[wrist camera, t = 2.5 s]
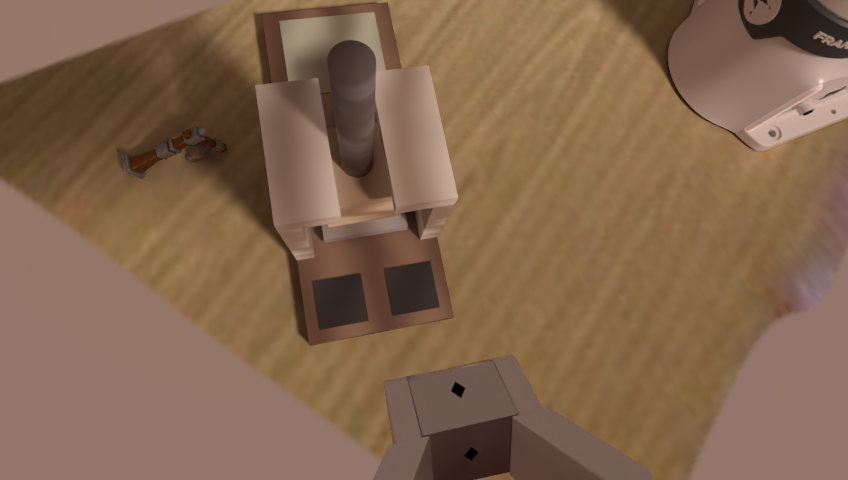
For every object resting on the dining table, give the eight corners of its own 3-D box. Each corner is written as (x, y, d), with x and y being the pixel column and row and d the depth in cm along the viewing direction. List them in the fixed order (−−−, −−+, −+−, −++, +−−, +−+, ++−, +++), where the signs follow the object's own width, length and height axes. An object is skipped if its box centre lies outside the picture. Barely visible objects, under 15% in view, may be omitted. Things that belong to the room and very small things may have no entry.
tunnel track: (387, 13, 50) (392, -94, 38) (450, 318, 43) (481, 300, 31) (264, 24, 48) (232, -84, 37) (310, 345, 41) (289, 337, 30)
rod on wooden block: (390, 144, 44) (406, -14, 26) (406, 229, 43) (436, 125, 24) (311, 155, 43) (269, -1, 25) (324, 242, 42) (290, 144, 23)
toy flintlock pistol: (237, 152, 44) (200, 136, 40) (165, 185, 46) (122, 173, 41) (232, 134, 44) (195, 116, 40) (161, 167, 46) (119, 153, 42)
